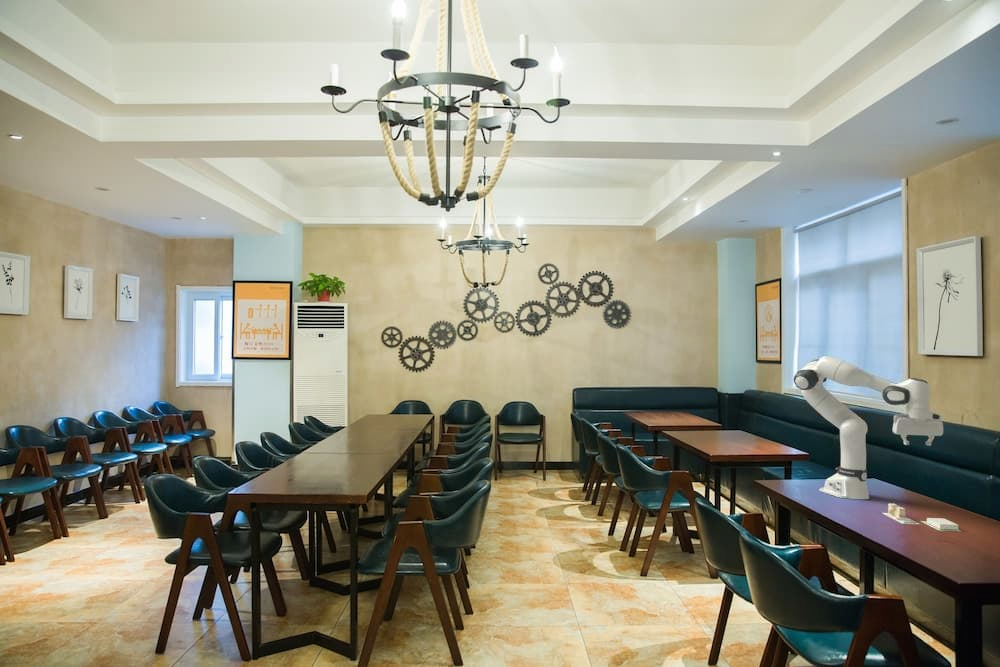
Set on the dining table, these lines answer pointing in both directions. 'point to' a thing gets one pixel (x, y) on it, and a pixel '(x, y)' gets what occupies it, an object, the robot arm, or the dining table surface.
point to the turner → (898, 513)
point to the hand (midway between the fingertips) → (917, 445)
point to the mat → (936, 527)
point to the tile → (942, 523)
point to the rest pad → (898, 520)
